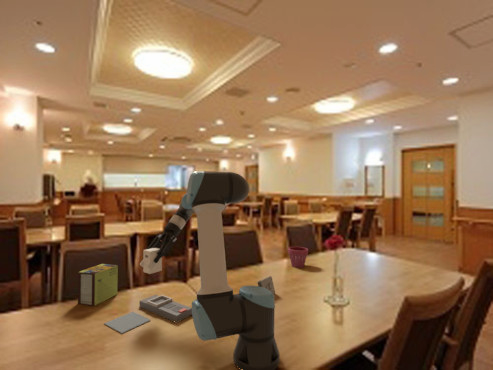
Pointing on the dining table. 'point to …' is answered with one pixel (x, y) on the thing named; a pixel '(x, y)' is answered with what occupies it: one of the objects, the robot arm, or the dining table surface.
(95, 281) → the protein box
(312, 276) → the dining table surface
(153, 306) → the power strip
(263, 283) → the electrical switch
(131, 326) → the mat
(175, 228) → the robot arm
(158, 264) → the charger
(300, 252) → the plant pot
